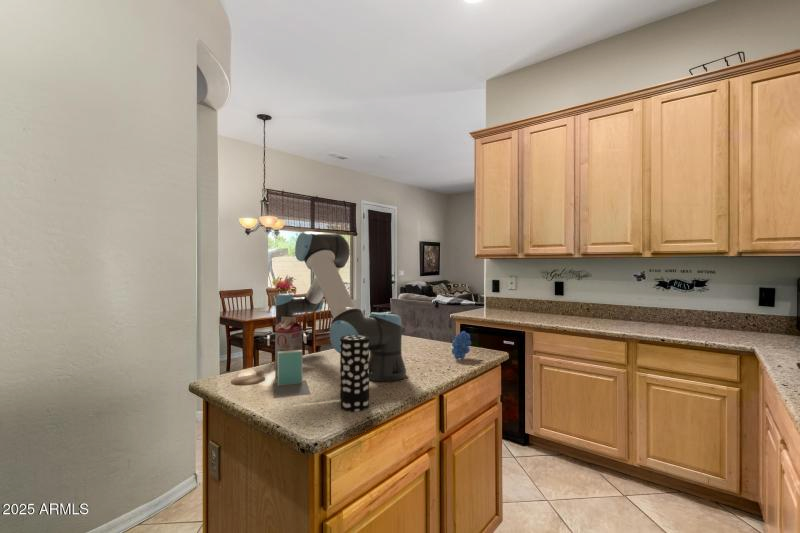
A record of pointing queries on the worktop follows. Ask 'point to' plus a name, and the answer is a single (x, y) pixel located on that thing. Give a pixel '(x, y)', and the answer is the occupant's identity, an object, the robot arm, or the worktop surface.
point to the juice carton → (287, 337)
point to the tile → (289, 367)
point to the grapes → (461, 345)
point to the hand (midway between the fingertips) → (287, 340)
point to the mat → (290, 389)
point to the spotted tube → (354, 372)
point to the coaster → (248, 380)
